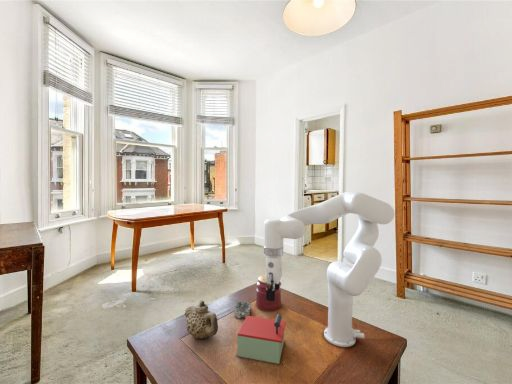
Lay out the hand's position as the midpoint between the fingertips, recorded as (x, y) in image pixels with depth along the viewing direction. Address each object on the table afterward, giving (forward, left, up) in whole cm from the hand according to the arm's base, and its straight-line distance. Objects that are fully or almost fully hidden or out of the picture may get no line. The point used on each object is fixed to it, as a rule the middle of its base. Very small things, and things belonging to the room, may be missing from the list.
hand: (272, 294), depth 95 cm
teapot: (+30, +1, -21) cm, 37 cm away
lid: (+3, +2, -13) cm, 14 cm away
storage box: (+4, +2, -21) cm, 22 cm away
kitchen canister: (+8, -32, -21) cm, 40 cm away
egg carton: (+19, -21, -21) cm, 36 cm away
